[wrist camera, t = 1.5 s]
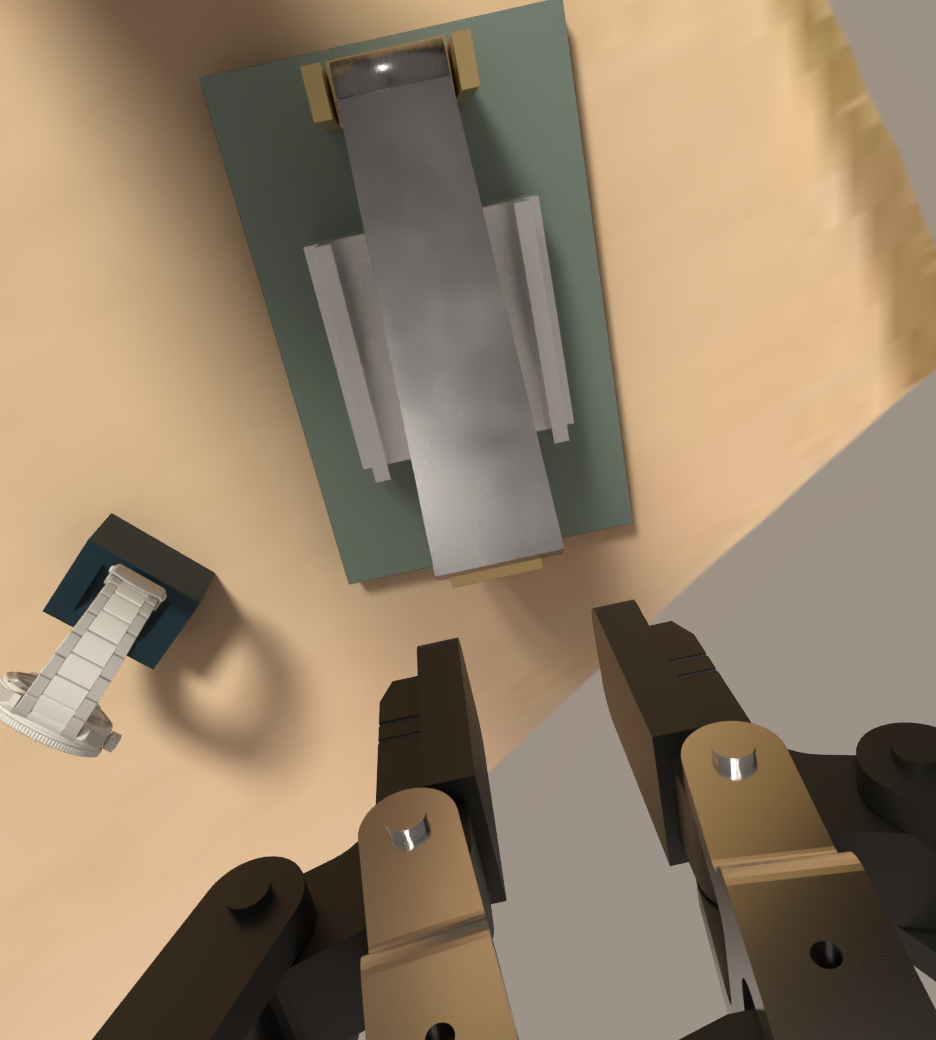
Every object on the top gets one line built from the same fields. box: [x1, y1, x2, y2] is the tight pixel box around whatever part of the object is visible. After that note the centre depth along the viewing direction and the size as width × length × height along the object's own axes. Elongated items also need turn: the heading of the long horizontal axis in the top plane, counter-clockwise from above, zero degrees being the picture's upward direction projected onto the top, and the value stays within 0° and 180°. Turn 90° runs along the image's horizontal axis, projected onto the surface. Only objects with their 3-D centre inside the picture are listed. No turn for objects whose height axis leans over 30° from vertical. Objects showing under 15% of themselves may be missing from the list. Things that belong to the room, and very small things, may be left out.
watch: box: [0, 513, 214, 757], centre depth 35 cm, size 6×8×11 cm
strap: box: [329, 37, 564, 580], centre depth 24 cm, size 17×4×2 cm
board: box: [199, 0, 633, 584], centre depth 36 cm, size 22×14×2 cm, turn 12°
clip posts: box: [300, 29, 543, 588], centre depth 31 cm, size 19×5×7 cm, turn 12°
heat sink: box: [303, 194, 574, 483], centre depth 33 cm, size 9×9×5 cm
